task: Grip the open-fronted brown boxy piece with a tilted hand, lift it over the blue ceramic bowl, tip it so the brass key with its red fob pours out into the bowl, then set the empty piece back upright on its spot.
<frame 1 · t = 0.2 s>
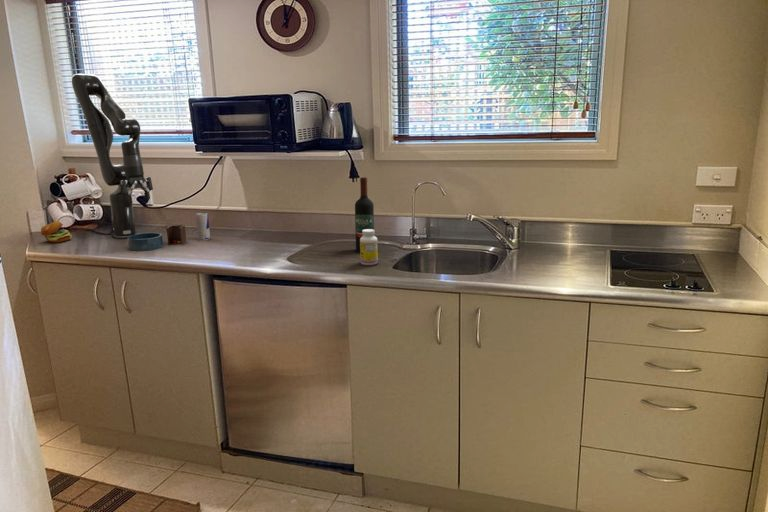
hand: (139, 201, 255), 17 cm above the countertop, tool pointing down, fingers open, 8 cm apart
cheeseburger: (57, 241, 258), on the countertop
wine bottle: (365, 250, 236), on the countertop
energy drink: (204, 240, 258), on the countertop
brown boxy piece: (177, 244, 250), on the countertop, touching key
bowl: (146, 248, 242), on the countertop
key: (178, 242, 250), point 1 cm above the countertop, touching brown boxy piece
supplement bottle: (369, 264, 216), on the countertop
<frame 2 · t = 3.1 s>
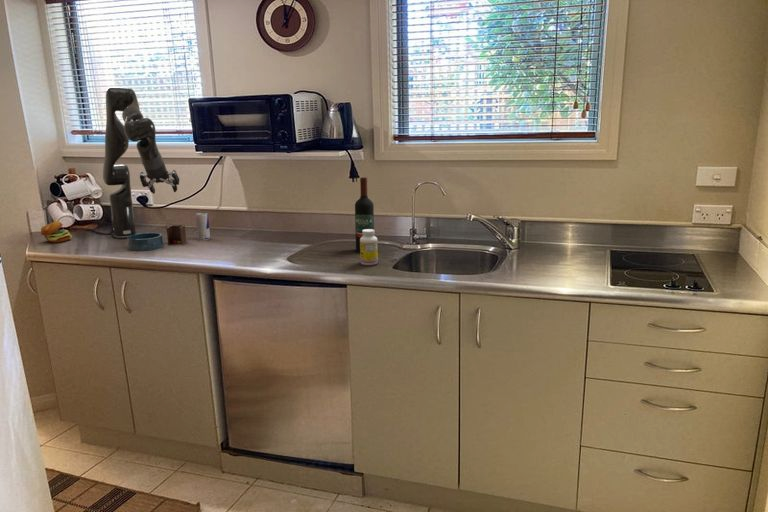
hand: (164, 191, 235), 24 cm above the countertop, tool tilted 40°, fingers open, 8 cm apart
nothing on the countertop moved.
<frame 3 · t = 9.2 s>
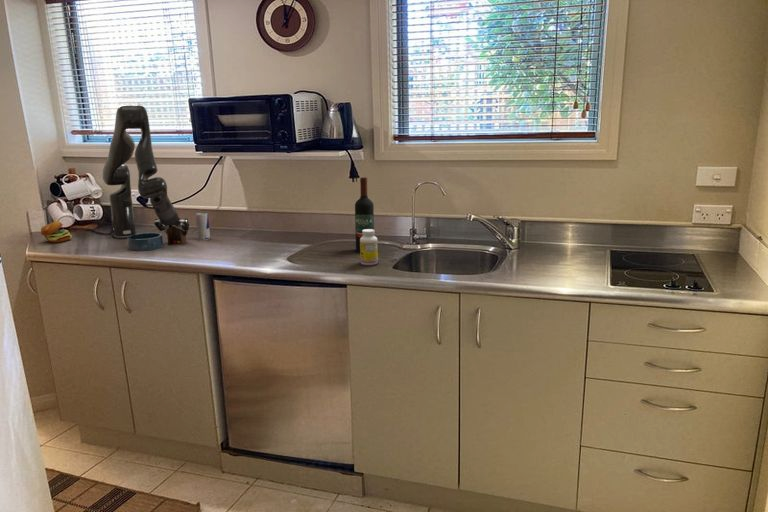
hand: (177, 233, 250), 4 cm above the countertop, tool tilted 45°, fingers closed on brown boxy piece, 6 cm apart
brown boxy piece: (177, 244, 250), on the countertop, touching gripper, key
everything else where it was.
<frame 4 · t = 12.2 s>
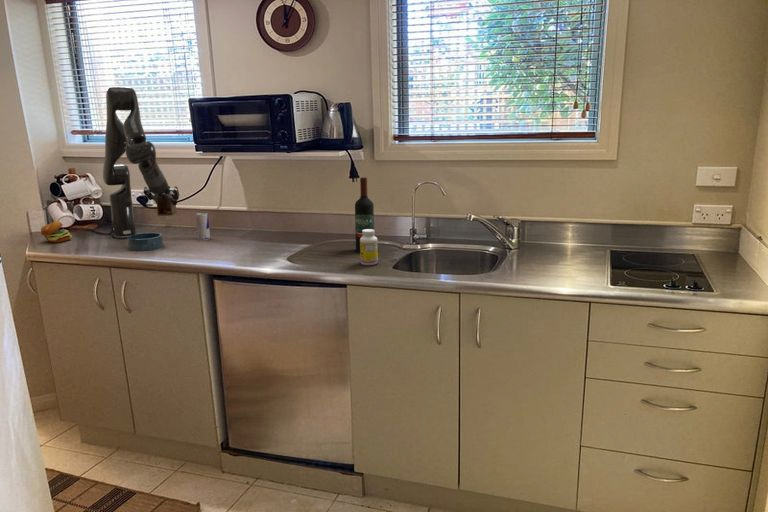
hand: (167, 203, 245), 18 cm above the countertop, tool tilted 45°, fingers closed on brown boxy piece, 6 cm apart
brown boxy piece: (167, 214, 244), point 14 cm above the countertop, touching gripper, key
key: (168, 212, 245), point 14 cm above the countertop, touching brown boxy piece
everything else where it was.
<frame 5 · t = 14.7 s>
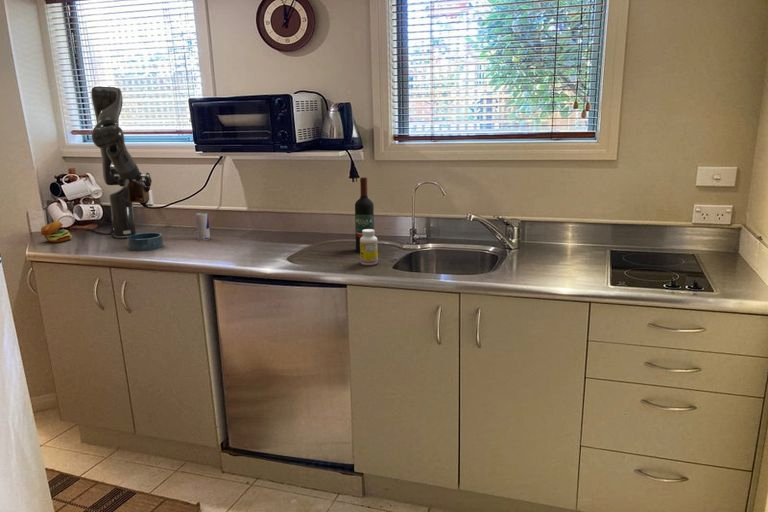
hand: (139, 190, 235), 25 cm above the countertop, tool tilted 45°, fingers closed on brown boxy piece, 6 cm apart
brown boxy piece: (139, 201, 235), point 21 cm above the countertop, touching gripper, key
key: (140, 199, 236), point 21 cm above the countertop, touching brown boxy piece
everything else where it was.
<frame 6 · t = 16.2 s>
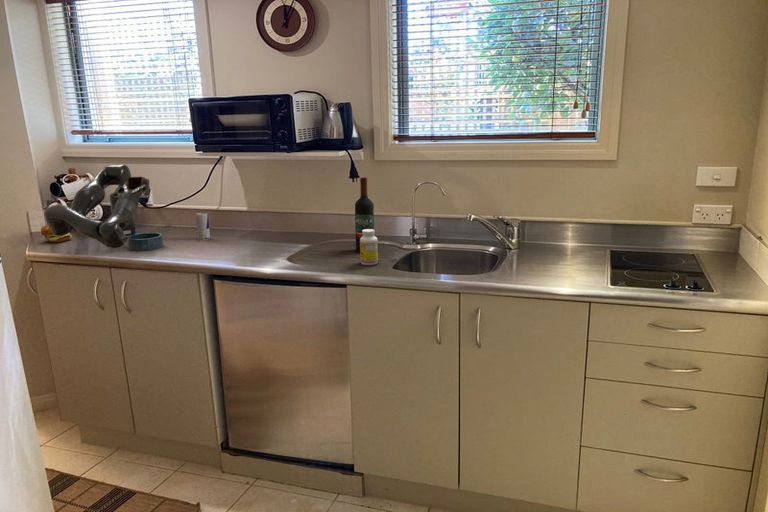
hand: (137, 181, 234), 29 cm above the countertop, tool pointing upward, fingers closed on brown boxy piece, 6 cm apart
brown boxy piece: (142, 187, 239), point 26 cm above the countertop, tilted 74°, touching gripper
key: (142, 245, 241), point 2 cm above the countertop, tilted 90°, touching bowl
everything else where it was.
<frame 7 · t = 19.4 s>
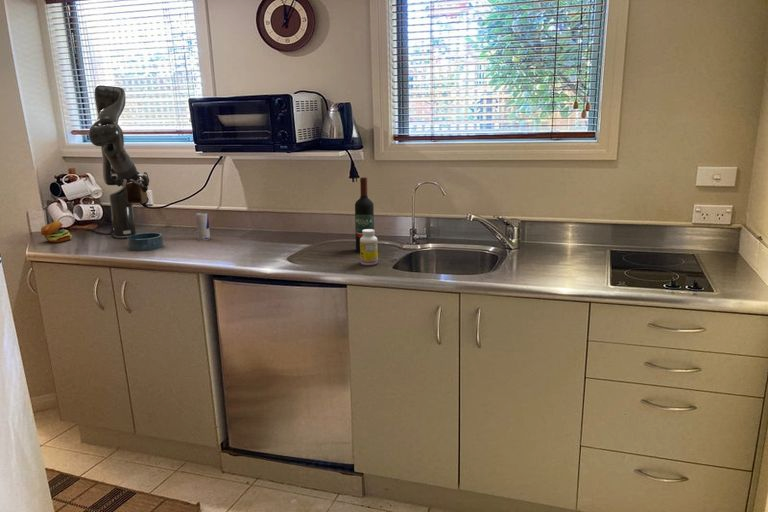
hand: (137, 190, 235), 25 cm above the countertop, tool tilted 45°, fingers closed on brown boxy piece, 6 cm apart
brown boxy piece: (137, 202, 235), point 20 cm above the countertop, touching gripper
everything else where it was.
when the fingers open (5 cm above the countertop, at t = 26.3 s): brown boxy piece stays where it is, on the countertop.
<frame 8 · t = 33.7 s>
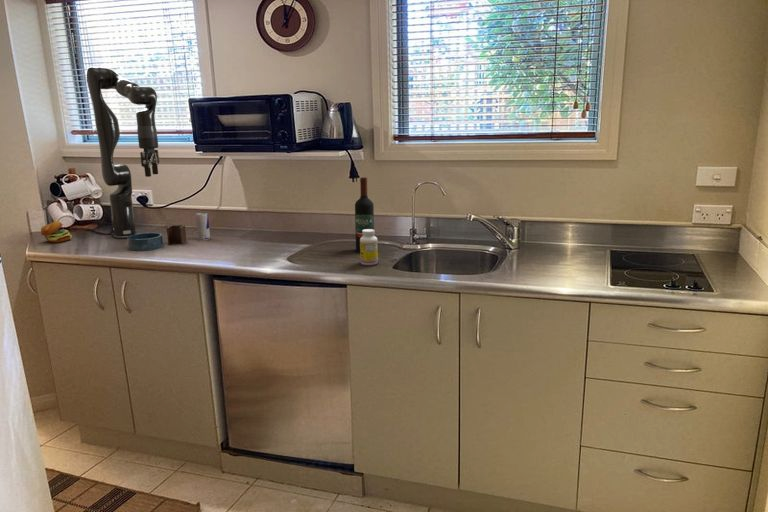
hand: (151, 175, 242), 30 cm above the countertop, tool pointing down, fingers open, 8 cm apart
brown boxy piece: (177, 244, 250), on the countertop
everything else where it was.
at the end: key inside the target area in the bowl (1.6 cm from its centre), point 1.5 cm above the bowl's base; brown boxy piece inside the target area (0.1 cm from its centre), on the countertop; brown boxy piece tilted 0° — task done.
